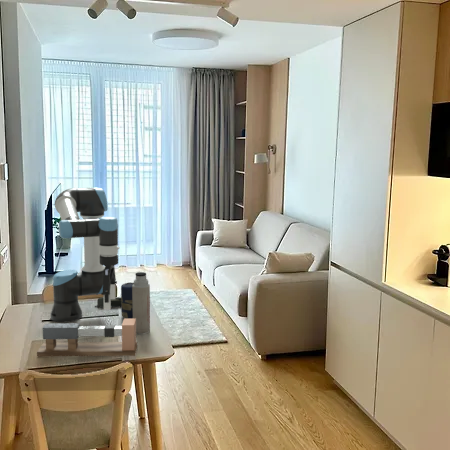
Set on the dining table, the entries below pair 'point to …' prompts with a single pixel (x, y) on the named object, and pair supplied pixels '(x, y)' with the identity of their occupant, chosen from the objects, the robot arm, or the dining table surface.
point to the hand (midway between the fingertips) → (109, 304)
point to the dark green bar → (114, 302)
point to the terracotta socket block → (128, 334)
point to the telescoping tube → (100, 330)
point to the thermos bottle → (141, 303)
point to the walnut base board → (83, 349)
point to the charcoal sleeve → (60, 331)
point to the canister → (127, 301)
